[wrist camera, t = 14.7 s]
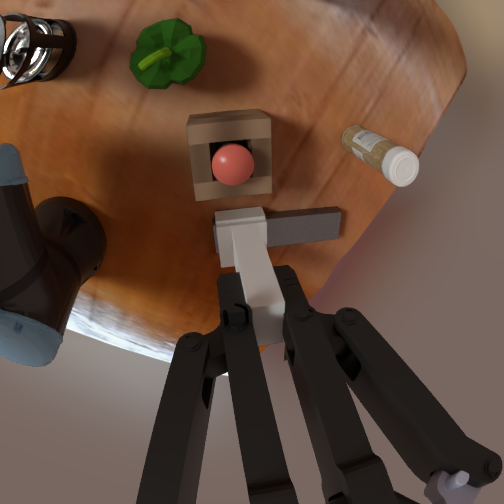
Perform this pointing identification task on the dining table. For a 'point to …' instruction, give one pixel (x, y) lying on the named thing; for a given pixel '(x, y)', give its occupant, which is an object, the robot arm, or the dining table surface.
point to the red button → (232, 163)
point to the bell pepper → (167, 54)
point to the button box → (227, 129)
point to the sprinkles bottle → (382, 155)
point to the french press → (33, 48)
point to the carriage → (225, 232)
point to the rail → (299, 226)
